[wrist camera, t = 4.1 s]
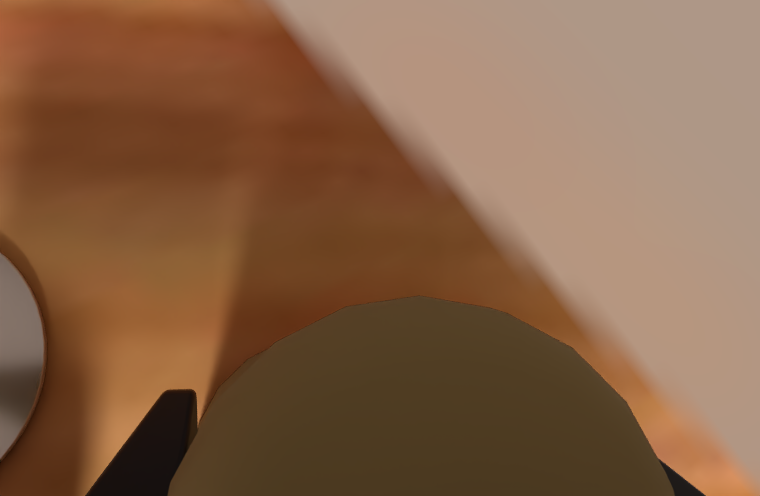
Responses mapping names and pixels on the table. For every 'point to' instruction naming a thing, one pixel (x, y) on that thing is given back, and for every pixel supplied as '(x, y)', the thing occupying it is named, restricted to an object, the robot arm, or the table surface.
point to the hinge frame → (19, 354)
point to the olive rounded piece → (418, 413)
